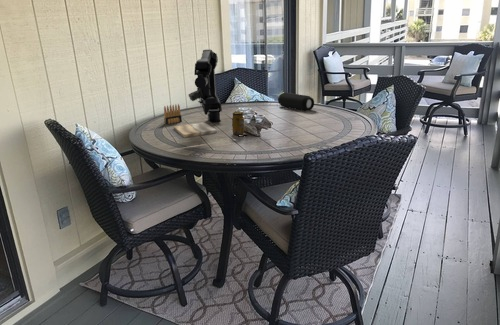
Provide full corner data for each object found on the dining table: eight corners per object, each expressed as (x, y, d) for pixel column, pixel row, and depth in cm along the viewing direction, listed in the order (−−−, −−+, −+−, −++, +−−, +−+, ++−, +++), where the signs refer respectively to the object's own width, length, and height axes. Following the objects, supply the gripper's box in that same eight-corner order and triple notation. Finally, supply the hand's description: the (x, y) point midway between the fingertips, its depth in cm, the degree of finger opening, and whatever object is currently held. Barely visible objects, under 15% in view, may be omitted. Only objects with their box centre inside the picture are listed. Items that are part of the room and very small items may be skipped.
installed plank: (189, 127, 232) (188, 124, 231) (200, 135, 215) (200, 132, 214) (173, 129, 228) (173, 126, 228) (184, 137, 211) (184, 134, 211)
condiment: (241, 132, 222) (240, 110, 218) (248, 135, 215) (247, 113, 211) (229, 134, 219) (228, 112, 215) (235, 137, 212) (234, 115, 208)
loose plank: (204, 124, 235) (204, 122, 235) (216, 132, 218) (216, 130, 218) (189, 126, 232) (189, 124, 231) (200, 134, 215) (200, 132, 214)
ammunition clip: (165, 126, 239) (163, 106, 235) (164, 125, 241) (162, 105, 237) (182, 123, 245) (180, 103, 241) (180, 122, 246) (179, 103, 242)
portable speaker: (314, 110, 269) (315, 95, 266) (305, 112, 263) (305, 97, 260) (286, 105, 288) (286, 91, 284) (277, 107, 281) (277, 93, 278)
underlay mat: (206, 125, 237) (206, 124, 237) (220, 134, 219) (220, 132, 218) (168, 131, 228) (168, 129, 228) (179, 140, 209) (179, 138, 209)
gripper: (184, 84, 217) (186, 113, 223) (195, 89, 202) (197, 119, 207) (203, 82, 222) (205, 110, 227) (216, 87, 206) (217, 117, 211)
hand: (206, 114), depth 218 cm, fingers closed
